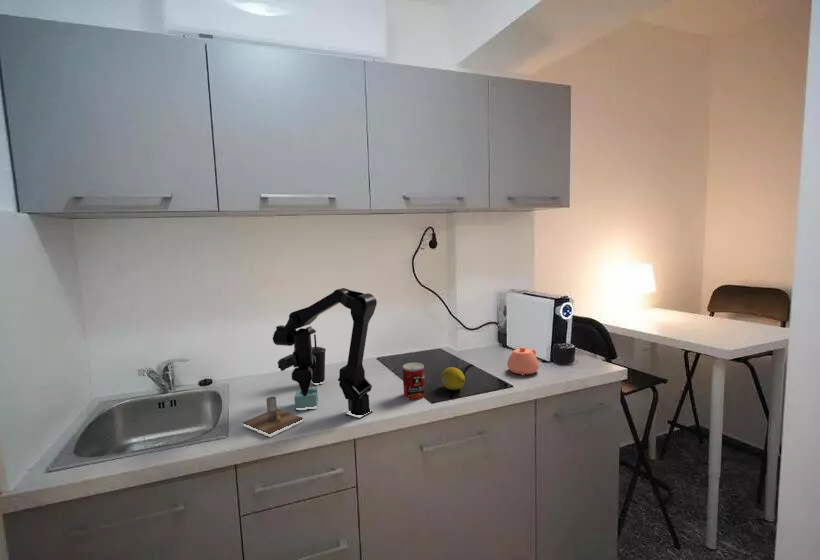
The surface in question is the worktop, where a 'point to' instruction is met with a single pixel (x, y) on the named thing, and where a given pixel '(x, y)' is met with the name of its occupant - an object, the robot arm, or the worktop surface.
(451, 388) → the lemon
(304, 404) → the collar
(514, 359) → the orange teapot
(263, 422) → the board
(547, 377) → the worktop surface
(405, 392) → the canned food
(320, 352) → the drinking cup
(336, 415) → the worktop surface
